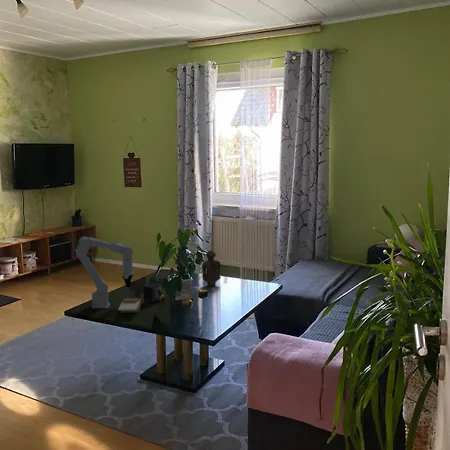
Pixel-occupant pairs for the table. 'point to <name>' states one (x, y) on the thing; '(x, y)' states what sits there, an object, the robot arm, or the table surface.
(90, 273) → the robot arm
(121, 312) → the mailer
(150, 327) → the table surface
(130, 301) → the lid
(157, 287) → the small box
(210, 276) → the clay figurine
